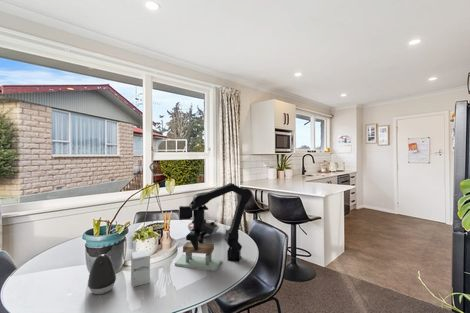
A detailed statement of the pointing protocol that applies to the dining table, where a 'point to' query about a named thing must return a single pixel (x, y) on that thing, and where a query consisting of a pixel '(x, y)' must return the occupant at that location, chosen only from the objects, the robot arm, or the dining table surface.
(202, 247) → the brown rectangular block
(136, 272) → the supplement box
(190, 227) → the ramen bowl
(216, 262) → the peg base
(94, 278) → the tapered speaker
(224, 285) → the dining table surface
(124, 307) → the dining table surface
